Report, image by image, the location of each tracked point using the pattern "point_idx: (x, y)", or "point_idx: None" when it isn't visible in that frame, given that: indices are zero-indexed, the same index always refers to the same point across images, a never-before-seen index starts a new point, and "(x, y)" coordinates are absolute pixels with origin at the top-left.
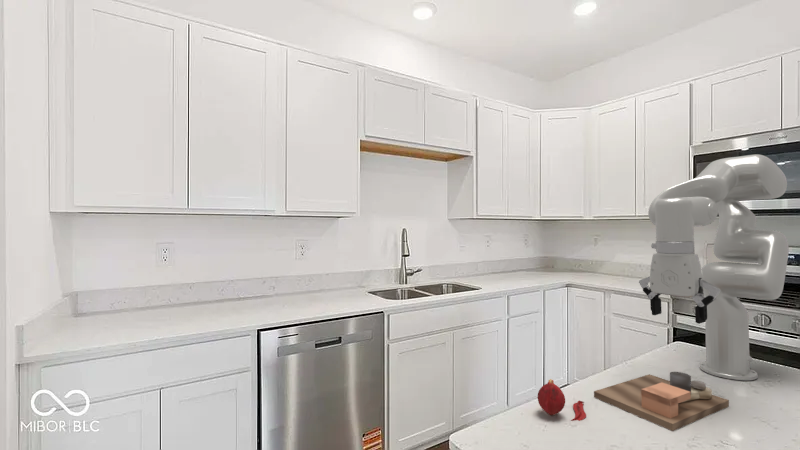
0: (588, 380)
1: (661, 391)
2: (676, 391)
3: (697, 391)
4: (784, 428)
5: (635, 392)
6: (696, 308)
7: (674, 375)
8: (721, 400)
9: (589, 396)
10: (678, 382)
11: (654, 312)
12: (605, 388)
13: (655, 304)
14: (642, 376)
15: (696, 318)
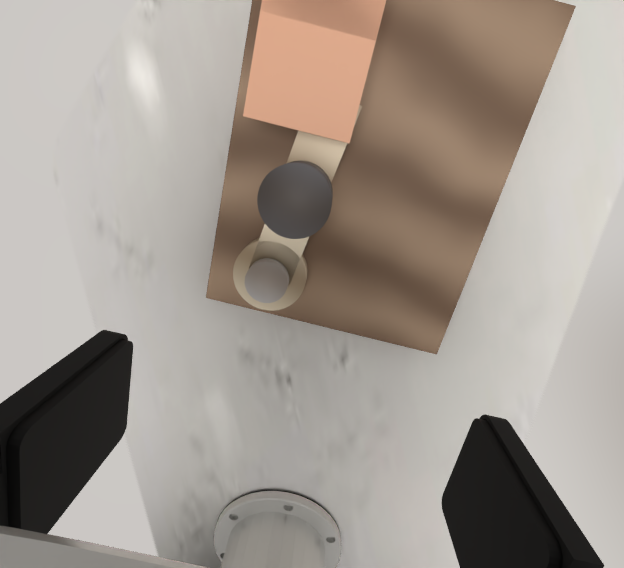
0: (616, 181)
1: (322, 18)
2: (280, 73)
3: (263, 243)
4: (86, 239)
5: (435, 135)
6: (14, 413)
7: (308, 175)
8: (218, 278)
9: (579, 9)
10: (293, 162)
11: (490, 430)
12: (540, 81)
13: (517, 515)
14: (450, 317)
15: (99, 350)
